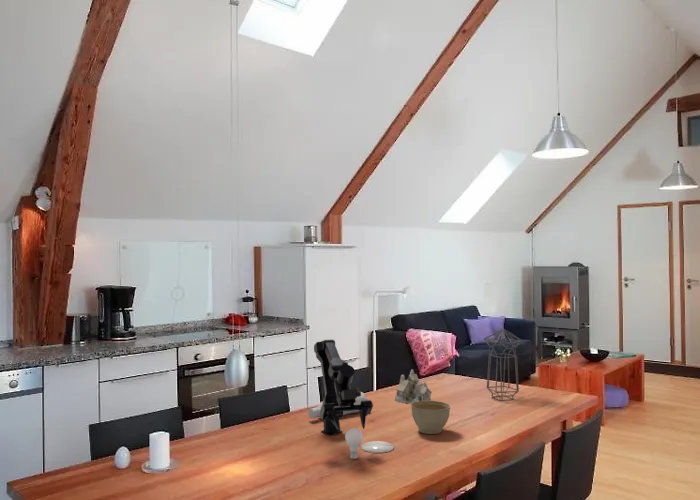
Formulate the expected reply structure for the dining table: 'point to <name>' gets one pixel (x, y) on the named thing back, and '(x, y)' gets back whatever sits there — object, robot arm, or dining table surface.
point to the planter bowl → (430, 415)
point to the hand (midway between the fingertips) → (351, 429)
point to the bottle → (316, 411)
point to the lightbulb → (354, 441)
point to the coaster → (377, 447)
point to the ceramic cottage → (412, 390)
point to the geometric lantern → (504, 361)
